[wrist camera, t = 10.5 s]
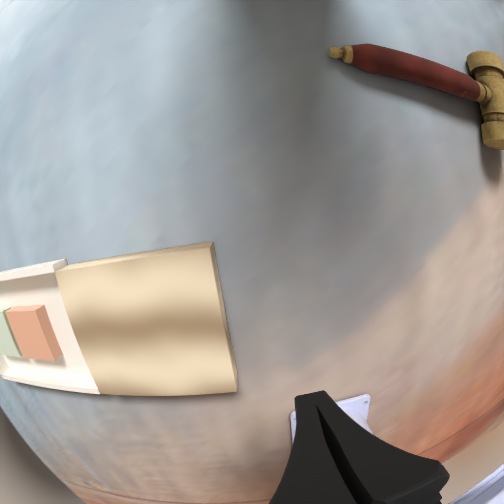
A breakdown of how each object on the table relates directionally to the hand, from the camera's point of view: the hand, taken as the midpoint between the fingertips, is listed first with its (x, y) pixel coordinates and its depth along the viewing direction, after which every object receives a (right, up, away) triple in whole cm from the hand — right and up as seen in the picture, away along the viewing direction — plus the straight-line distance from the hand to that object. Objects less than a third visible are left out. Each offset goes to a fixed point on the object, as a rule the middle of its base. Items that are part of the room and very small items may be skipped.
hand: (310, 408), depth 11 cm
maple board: (-11, +2, +9) cm, 14 cm away
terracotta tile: (-23, 0, +9) cm, 25 cm away
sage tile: (-29, -2, +7) cm, 30 cm away
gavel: (+13, +23, +7) cm, 27 cm away
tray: (-25, 0, +9) cm, 26 cm away
